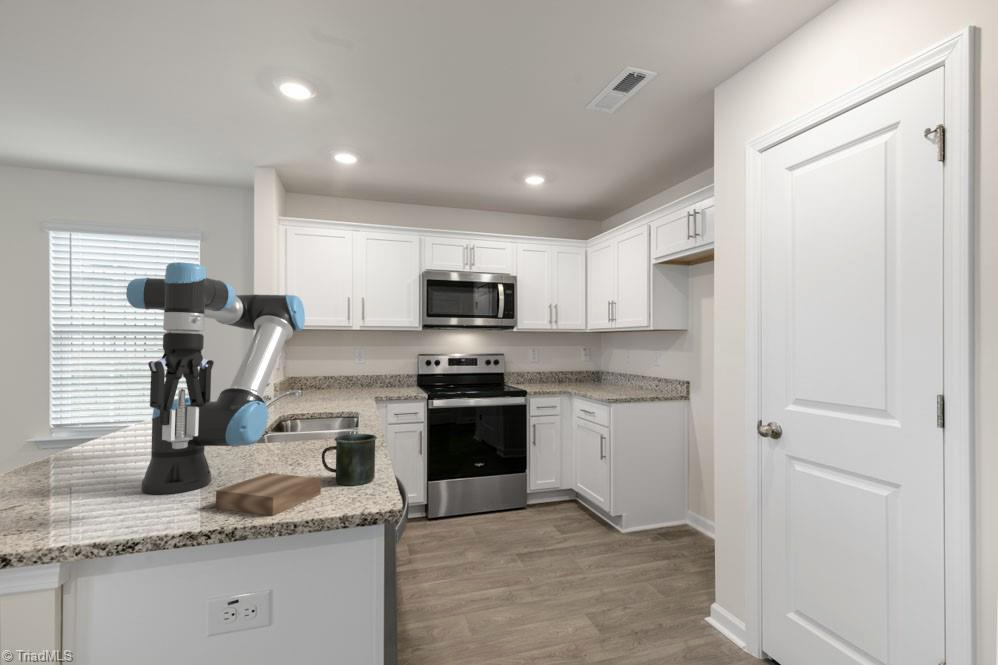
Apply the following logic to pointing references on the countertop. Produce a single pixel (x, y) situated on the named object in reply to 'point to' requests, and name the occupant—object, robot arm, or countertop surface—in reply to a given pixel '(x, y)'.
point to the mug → (353, 459)
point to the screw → (181, 424)
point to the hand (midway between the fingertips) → (180, 437)
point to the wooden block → (268, 493)
